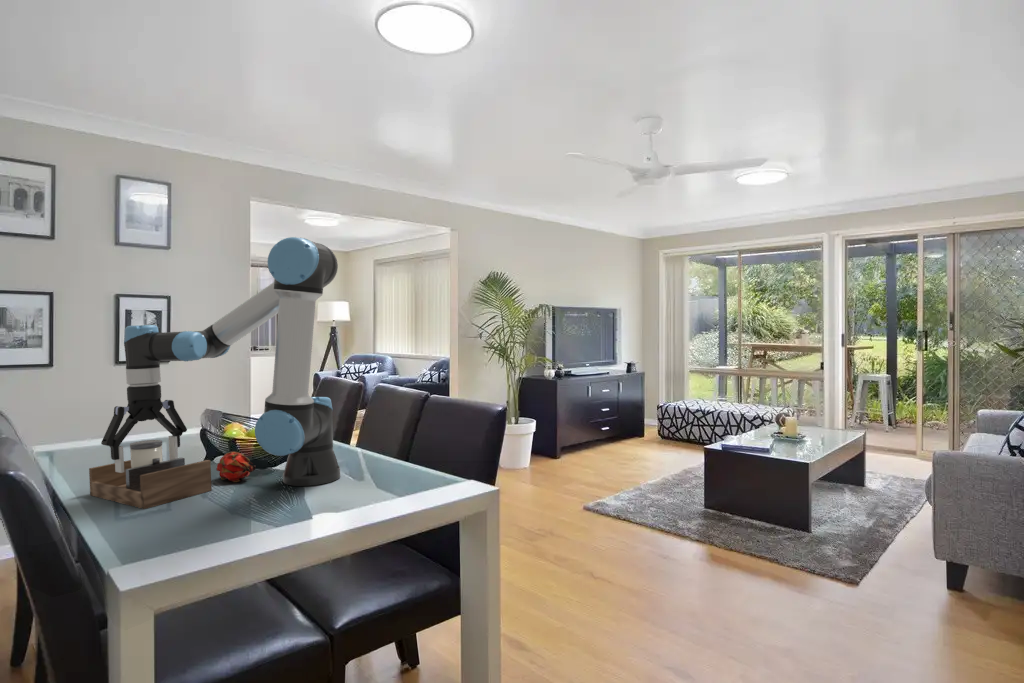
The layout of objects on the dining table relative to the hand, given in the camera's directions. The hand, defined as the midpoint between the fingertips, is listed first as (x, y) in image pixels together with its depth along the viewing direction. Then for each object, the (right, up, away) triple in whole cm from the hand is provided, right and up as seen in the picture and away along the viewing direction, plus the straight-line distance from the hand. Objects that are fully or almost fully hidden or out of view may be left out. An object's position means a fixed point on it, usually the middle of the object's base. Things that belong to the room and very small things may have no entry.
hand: (147, 466), depth 154 cm
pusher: (+4, -6, -2) cm, 7 cm away
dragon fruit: (+18, -6, +11) cm, 22 cm away
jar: (0, -6, 0) cm, 6 cm away
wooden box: (+1, -7, -1) cm, 7 cm away
